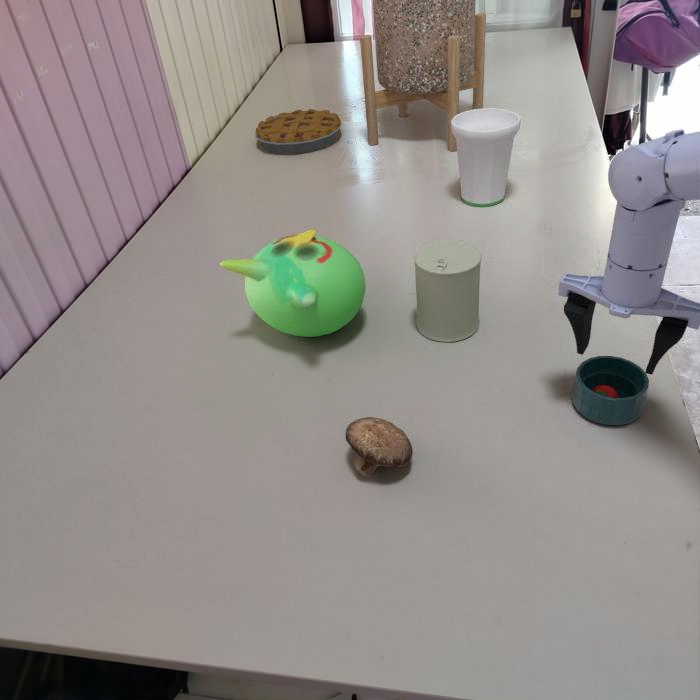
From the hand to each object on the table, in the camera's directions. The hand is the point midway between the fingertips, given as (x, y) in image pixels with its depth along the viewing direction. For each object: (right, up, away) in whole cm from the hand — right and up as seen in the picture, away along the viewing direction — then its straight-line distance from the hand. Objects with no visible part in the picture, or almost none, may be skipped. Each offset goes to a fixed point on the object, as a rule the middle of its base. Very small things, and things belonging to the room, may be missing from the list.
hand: (615, 358), depth 73 cm
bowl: (+1, -6, +5) cm, 7 cm away
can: (-16, +5, +21) cm, 27 cm away
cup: (-5, +31, +52) cm, 61 cm away
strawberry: (+1, -5, +4) cm, 6 cm away
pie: (-43, +54, +87) cm, 111 cm away
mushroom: (-27, -12, +1) cm, 30 cm away
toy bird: (-37, +5, +24) cm, 44 cm away
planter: (-12, +55, +83) cm, 100 cm away
